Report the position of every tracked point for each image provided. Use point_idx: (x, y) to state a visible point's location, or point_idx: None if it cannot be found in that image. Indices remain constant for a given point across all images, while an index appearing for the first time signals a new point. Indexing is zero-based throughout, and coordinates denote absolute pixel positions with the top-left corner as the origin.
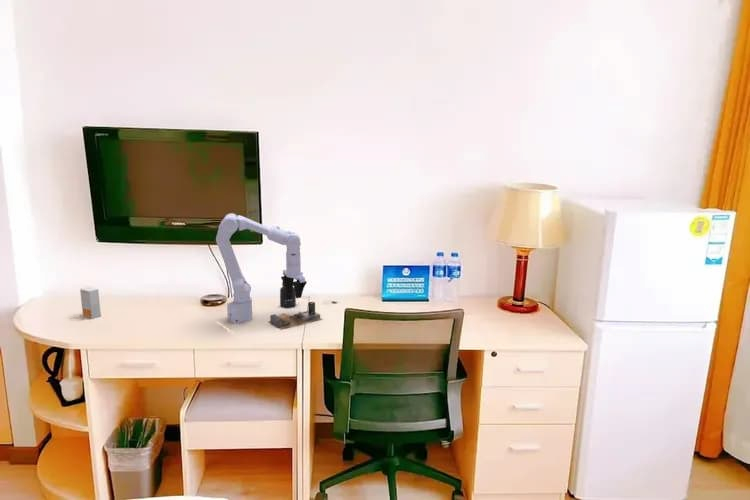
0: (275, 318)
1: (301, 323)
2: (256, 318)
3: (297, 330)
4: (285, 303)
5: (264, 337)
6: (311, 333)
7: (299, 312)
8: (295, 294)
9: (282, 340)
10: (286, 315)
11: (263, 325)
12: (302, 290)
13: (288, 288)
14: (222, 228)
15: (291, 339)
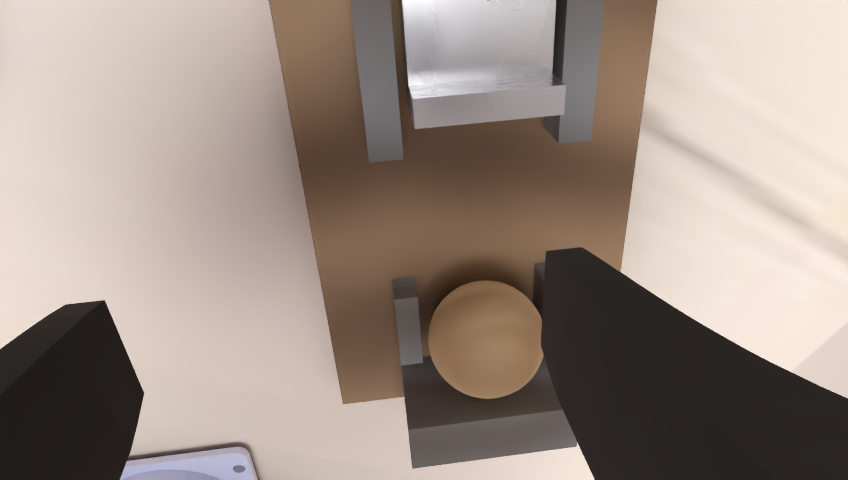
0: (531, 450)
1: (598, 148)
2: (145, 423)
3: (664, 223)
4: None
5: None
6: (831, 139)
7: (447, 125)
8: (572, 422)
9: None
10: (527, 346)
11: (359, 418)
12: (721, 353)
13: (80, 473)
14: None
15: (784, 334)
